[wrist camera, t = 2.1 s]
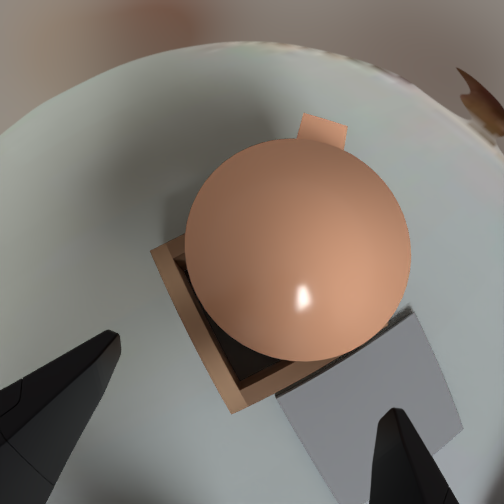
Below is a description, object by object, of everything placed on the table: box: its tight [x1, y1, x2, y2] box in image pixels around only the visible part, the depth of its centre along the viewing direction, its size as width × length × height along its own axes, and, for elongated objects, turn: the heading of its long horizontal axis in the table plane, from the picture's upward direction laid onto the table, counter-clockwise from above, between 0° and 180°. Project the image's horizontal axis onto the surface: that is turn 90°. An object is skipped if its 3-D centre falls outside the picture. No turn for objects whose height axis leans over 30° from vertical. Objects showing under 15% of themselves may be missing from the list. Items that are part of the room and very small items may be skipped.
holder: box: [150, 234, 388, 414], centre depth 19 cm, size 10×10×4 cm
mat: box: [276, 313, 463, 504], centre depth 18 cm, size 11×11×1 cm
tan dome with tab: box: [185, 113, 411, 362], centre depth 15 cm, size 9×6×13 cm
